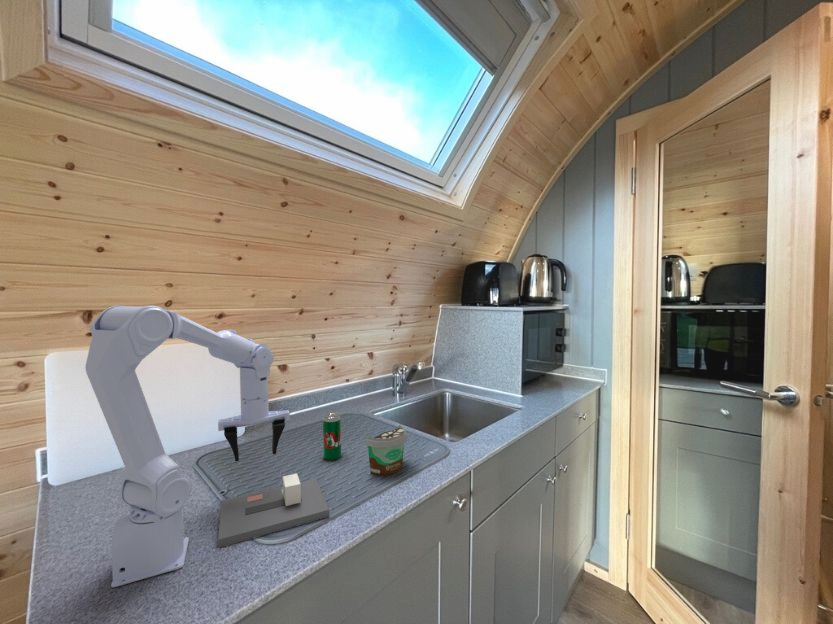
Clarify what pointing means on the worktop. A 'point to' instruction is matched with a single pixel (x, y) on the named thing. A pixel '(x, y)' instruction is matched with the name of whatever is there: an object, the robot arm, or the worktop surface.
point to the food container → (386, 452)
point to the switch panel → (268, 513)
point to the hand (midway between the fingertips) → (256, 455)
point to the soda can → (331, 436)
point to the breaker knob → (291, 489)
